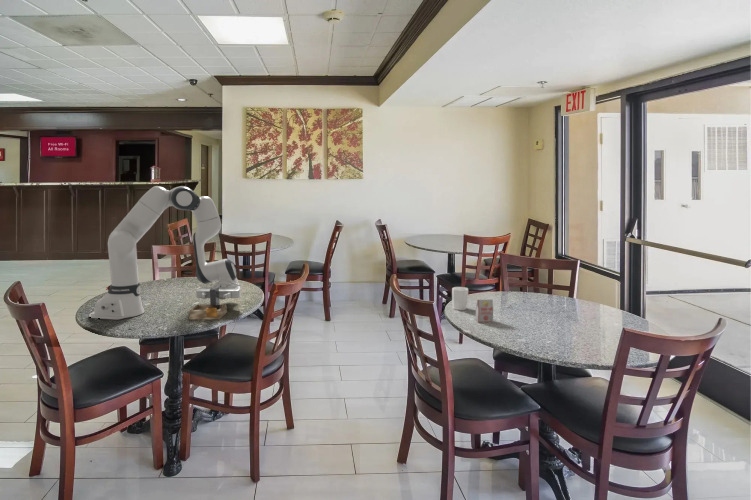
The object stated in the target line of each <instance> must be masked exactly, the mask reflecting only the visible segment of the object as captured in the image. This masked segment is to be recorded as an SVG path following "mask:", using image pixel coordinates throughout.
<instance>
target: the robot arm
mask: <svg viewBox="0 0 751 500" xmlns="http://www.w3.org/2000/svg"><path fill="white" fill-rule="evenodd" d="M170 207H174V208H175V209H177V210H181V211H190V212H192V215H193V217H194V219H195V222H196V231H195V232H194V233H193V236H192V239H193V240H192V243H193V244H192V245H193V251H194V258H195V260H194V261H195V275H196V279H197V280H198V281H199V282H200V283H202V284H205V285H207V284H210V283H213V282H216V281H217V282H216V283H215V284H214V285H213V286H212V287H210V286H208V287H200V288H198V289H196V290H195V297H196V298H197V299H203V300H205V299H210V289H211V288H213V287H219V300H227V299H240V298H241V297H242V289H241V288H242V286H241V283H239V280H238V278H237V276H238V270H237V267H236V265H235V263H234V262H233V261H232V260H230V259H229V258H223V259H219V260H215V261H210V262H207V260H206V253H205V244H206V243H207V242H208V241H209V240H211V239H213V238H214V237H215V236H217V235H218V233H219V232H220V231H221V228H222V222H221V217H220V215H219V211H218V209H217V207H216V204H215V202H214V200H213V198H211V197H210V196H205V195H202V196H199V195H198V194H197V193H195V191H194V190H193V189H191V188H190V187H188V186H184V185H180V186H176V187H173V188H171V189H167V188H165V187H163V186H160V185H159V186H158V185H154V186H153V187H151V188H149V190H147V191H146V192H145V193H144V194H143V195H142V196H141V197H140V198H139V199H138V201H137V202H136V203H135V204H134V206H133V207H132V208H131V209H130V210H129V212H128V213H127V214H126V216H124V217H123V219H122V220H121V221H120V222H119V223H118V225H117V226H116V227H114V229H113V231H111V233H110V234H109V236H108V239H107V251H108V261H109V269H110V270H109V271H110V272H109V274H110V281H111V282H110V285H108V286H107V287H105V291H107V293H106V294H104V295H103V296H102V297H101V298H100V299H98V300H97V301H96V302H95V305H94V308H93V309H94V310H93V311H92V312H90V313H89V314H88V318H89V317H91V318H90V319H98V318H100V319H101V320H115V321H116V320H122V319H126V318H132V317H136V316H139V315H142V314H144V313H145V309H144V307H143V303H142V297H141V283H140V282H139V281H140V280H139V268H138V250H137V243H138V242H139V241H140V240H141V239H142V238H143V236H145V234H146V233H147V232H148V231H149V230H150V229H151V228H152V227H153V226H154V224H155V223H156V222H157V220H158V219H159V218H160V216H161V215H162V214H163V213H164V211H165V210H167V209H168V208H170Z"/></svg>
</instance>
